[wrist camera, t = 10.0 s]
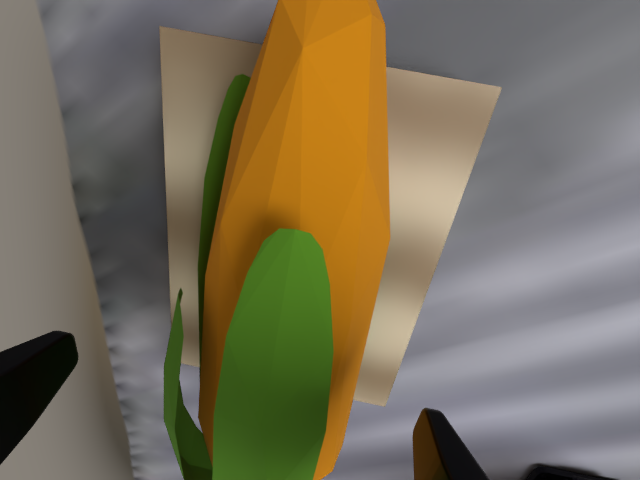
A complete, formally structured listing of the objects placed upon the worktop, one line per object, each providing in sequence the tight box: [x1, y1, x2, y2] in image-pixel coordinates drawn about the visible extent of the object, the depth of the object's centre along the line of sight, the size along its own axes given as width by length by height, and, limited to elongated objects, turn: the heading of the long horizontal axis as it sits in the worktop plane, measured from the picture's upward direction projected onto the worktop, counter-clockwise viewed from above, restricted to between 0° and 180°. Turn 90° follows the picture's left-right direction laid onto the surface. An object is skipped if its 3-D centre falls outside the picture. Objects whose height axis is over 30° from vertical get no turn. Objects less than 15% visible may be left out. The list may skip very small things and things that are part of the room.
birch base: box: [159, 26, 502, 407], centre depth 16 cm, size 16×12×3 cm
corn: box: [164, 0, 390, 480], centre depth 11 cm, size 7×8×20 cm
